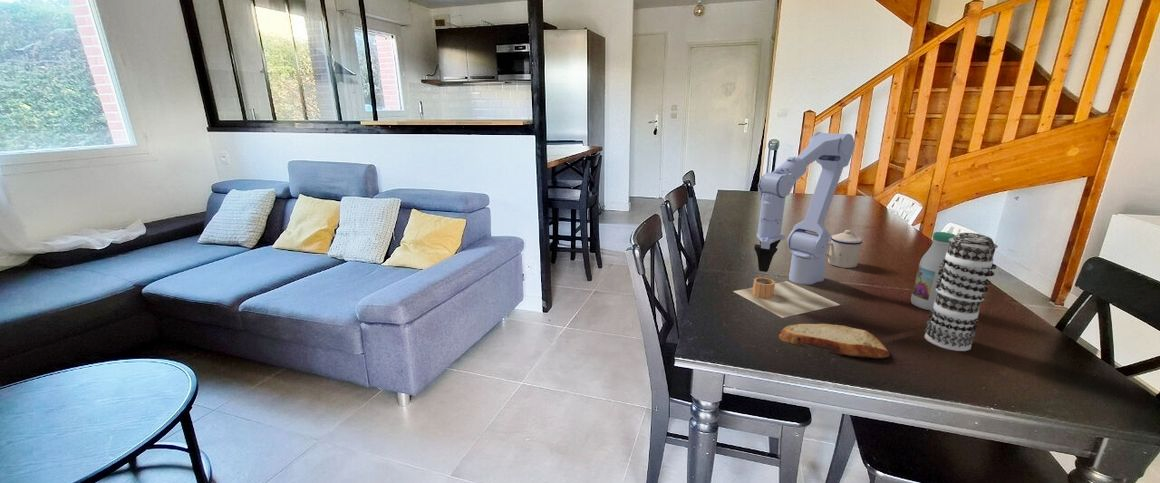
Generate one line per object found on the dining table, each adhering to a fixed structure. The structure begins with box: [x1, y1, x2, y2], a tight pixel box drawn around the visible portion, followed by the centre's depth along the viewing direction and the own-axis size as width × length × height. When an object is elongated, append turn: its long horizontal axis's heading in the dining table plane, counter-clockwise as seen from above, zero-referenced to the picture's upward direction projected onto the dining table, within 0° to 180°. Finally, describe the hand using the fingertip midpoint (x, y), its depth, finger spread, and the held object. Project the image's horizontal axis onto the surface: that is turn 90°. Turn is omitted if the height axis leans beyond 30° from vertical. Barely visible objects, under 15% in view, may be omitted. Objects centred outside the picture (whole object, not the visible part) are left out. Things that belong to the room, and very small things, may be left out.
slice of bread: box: [778, 323, 891, 360], centre depth 102 cm, size 18×18×4 cm
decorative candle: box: [923, 232, 999, 352], centre depth 100 cm, size 9×9×25 cm
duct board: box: [732, 280, 841, 319], centre depth 124 cm, size 20×18×4 cm
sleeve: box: [752, 277, 776, 299], centre depth 126 cm, size 5×5×4 cm
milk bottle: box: [910, 231, 956, 311], centre depth 119 cm, size 8×8×20 cm
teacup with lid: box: [823, 229, 863, 269], centre depth 152 cm, size 12×9×12 cm
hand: (764, 266), depth 125 cm, fingers open, 7 cm apart
